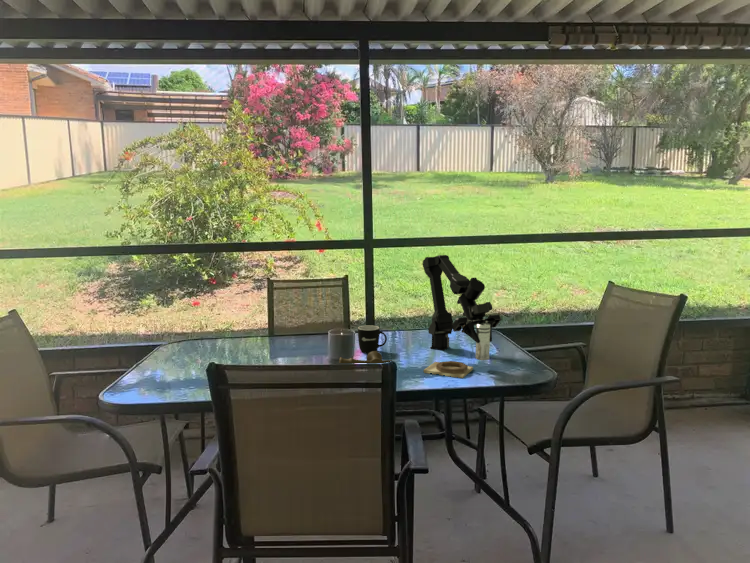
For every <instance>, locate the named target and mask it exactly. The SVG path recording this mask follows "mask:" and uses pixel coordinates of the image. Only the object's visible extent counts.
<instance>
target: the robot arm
mask: <svg viewBox="0 0 750 563" xmlns="http://www.w3.org/2000/svg"><path fill="white" fill-rule="evenodd" d="M422 267H423V270H424V273H425V275H426V276H427V277H428V278H429V285H430V290H431V297H432V304H433V310H434V312H433V314H432V316H431V323H430V325H429V327H428V328H427V329H428V330H427V331H428V334H430V335H431V346H430V348H429V349H433V350H441V351H446V350H447V349H448V348H450V337H449V335H450V334H451V335H452V332H460V331H461V333H464V334H465V335H467V336H468V337H469V338H471V339H472V340H473V341H474V342H475V343H476V342H477V343H479V338H478V336H477V334H476V328H475V326H477V323H489V324H490V343H491V342H492V341H493V335H492V333H493V332H492V331H493V330H492V329H494V328H496V327H497V326H498V325H499V324H500V322H502V320H503V319H502V318H501V316H500V314H498V313H493V314H489V315H488V316H487V318H485V317H486V314H487V313H490V311H492V310H493V304H492V302H491V301H486V302H484V303H477V301H476V300H478V299H479V298H480V296H481V295H482V293H483V292H484V290H485V289H486V286H485V284H484V283H483V281H481V280H479V279H477V277H471V278H470V279H469V278H468V277H467V276H465V275H463V274H461V273H460V272H459V271H458V269H457V268H456V267H455V265H454V264H453V262H452V261H451V259H450V256H449V255H447V254H441V255H439V254H437V255H436V256H426V257H425V258H424V259H423V260H422ZM442 274H444V275H445V278H447V279H448V281H449V288H450V291H451V292H452V294H454V295H459V296H458V299H457V303H456V304H457V305H460V306H461V308H462V310H463V311H462V312H463V313H462V317H456V318H455V319H454V320H453V316H452V315H453V314H452V313H451V312H449V311H448V310H447V308H446V301H445V294H444V289H443V288H444V287H443V283H442V282H443V281H442Z"/></svg>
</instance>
